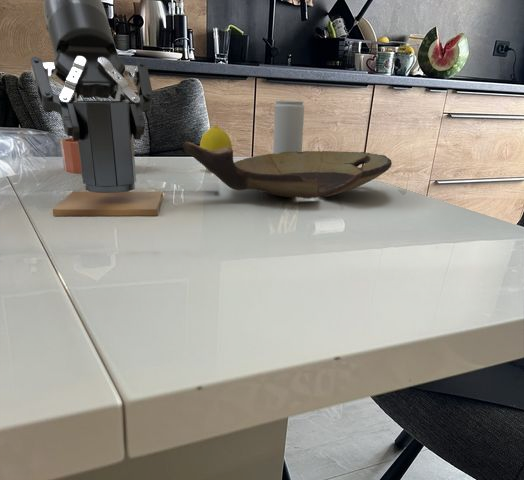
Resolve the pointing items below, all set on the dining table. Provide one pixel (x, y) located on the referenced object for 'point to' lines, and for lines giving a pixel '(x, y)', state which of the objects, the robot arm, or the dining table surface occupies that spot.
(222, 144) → the lemon
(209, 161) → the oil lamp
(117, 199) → the cork trivet
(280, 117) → the beverage can
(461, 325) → the dining table surface
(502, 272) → the dining table surface
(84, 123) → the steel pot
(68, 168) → the terracotta pot
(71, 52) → the robot arm
